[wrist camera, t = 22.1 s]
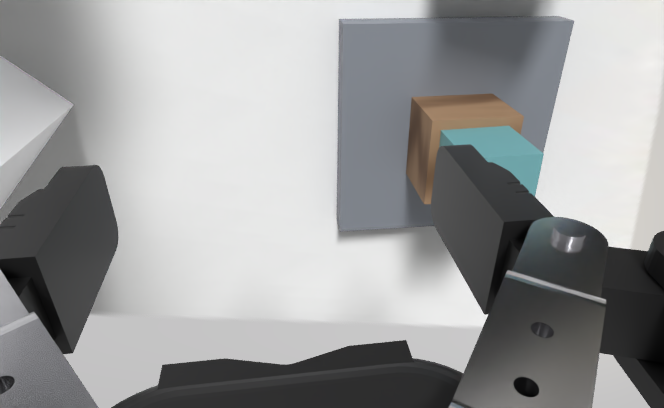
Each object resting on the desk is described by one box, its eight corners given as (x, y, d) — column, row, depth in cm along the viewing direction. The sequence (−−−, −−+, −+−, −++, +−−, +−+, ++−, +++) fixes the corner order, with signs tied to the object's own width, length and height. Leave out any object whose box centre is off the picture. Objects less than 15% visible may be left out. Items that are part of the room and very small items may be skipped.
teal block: (440, 130, 31) (466, 159, 27) (509, 125, 31) (543, 153, 28) (435, 192, 33) (457, 228, 29) (498, 187, 34) (529, 221, 30)
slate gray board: (339, 19, 34) (343, 24, 32) (559, 16, 35) (574, 20, 34) (336, 218, 42) (340, 231, 40) (516, 208, 43) (527, 220, 42)
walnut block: (411, 96, 35) (432, 120, 31) (492, 93, 36) (523, 116, 31) (405, 172, 38) (424, 204, 34) (480, 168, 39) (507, 198, 34)
